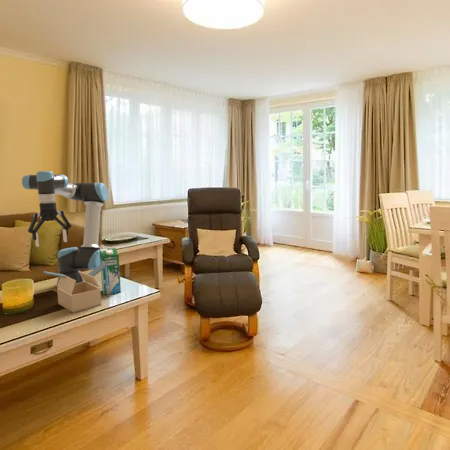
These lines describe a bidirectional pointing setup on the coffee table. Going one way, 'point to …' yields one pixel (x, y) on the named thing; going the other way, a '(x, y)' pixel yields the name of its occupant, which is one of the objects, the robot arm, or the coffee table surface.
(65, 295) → the carton box
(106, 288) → the milk carton
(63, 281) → the flap
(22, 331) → the coffee table surface
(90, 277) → the flap
